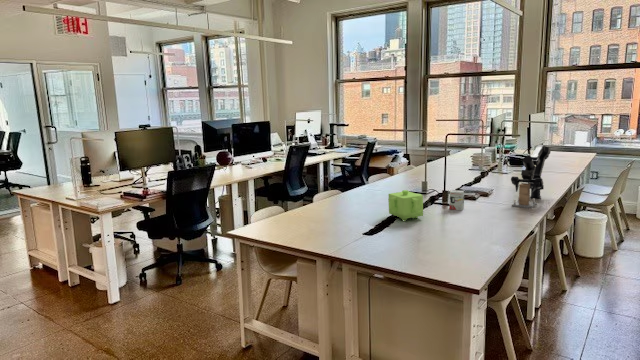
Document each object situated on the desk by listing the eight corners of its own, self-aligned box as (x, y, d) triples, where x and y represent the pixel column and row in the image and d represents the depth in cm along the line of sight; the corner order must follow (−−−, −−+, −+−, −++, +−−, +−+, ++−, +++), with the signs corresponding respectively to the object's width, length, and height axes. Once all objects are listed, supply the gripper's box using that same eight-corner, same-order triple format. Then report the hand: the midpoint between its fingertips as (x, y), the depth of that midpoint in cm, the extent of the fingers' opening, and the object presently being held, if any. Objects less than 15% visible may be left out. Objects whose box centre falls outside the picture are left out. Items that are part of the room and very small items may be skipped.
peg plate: (517, 202, 295) (517, 196, 295) (536, 204, 288) (536, 198, 287) (511, 206, 286) (511, 200, 286) (531, 208, 279) (531, 202, 278)
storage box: (379, 216, 279) (378, 189, 276) (409, 211, 288) (409, 185, 285) (401, 225, 257) (401, 196, 254) (433, 219, 265) (433, 191, 262)
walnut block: (521, 202, 290) (521, 183, 288) (529, 203, 287) (530, 183, 285) (518, 204, 287) (519, 184, 284) (527, 205, 283) (527, 185, 281)
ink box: (449, 209, 287) (448, 191, 285) (450, 207, 291) (450, 190, 289) (462, 210, 283) (462, 192, 281) (464, 208, 287) (464, 190, 285)
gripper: (512, 164, 291) (506, 183, 285) (542, 165, 279) (537, 186, 273) (515, 174, 299) (509, 193, 292) (545, 176, 287) (540, 196, 280)
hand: (523, 192), depth 284 cm, fingers open, 9 cm apart
